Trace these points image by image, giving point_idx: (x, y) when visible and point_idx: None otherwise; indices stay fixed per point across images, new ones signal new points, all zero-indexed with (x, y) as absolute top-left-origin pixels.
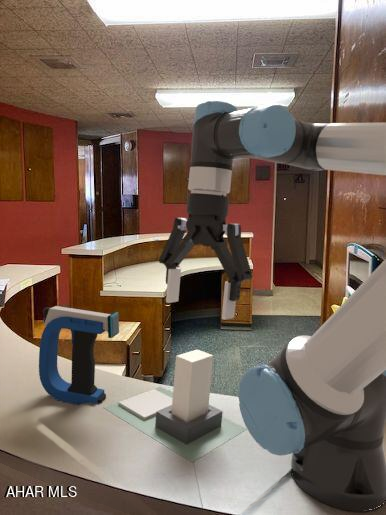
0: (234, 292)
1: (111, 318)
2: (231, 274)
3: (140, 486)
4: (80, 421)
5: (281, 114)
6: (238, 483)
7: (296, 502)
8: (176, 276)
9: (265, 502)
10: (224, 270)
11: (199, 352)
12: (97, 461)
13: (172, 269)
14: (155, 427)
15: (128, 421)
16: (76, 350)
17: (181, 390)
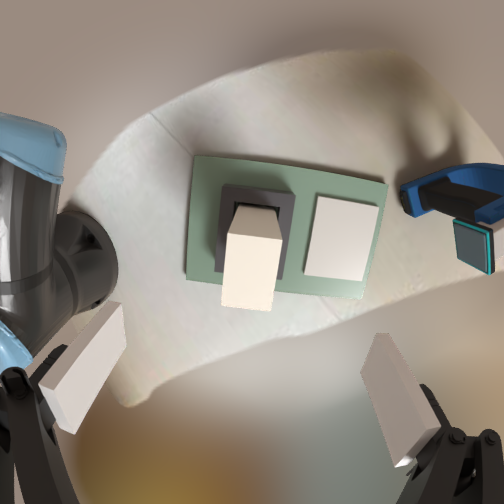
0: (47, 365)
1: (483, 232)
2: (15, 409)
3: (223, 84)
4: (390, 143)
5: None
6: (138, 173)
7: (85, 192)
8: (396, 428)
9: (104, 168)
10: (41, 435)
11: (254, 299)
12: (301, 85)
13: (422, 435)
14: (290, 190)
15: (333, 176)
16: (482, 192)
17: (255, 218)
